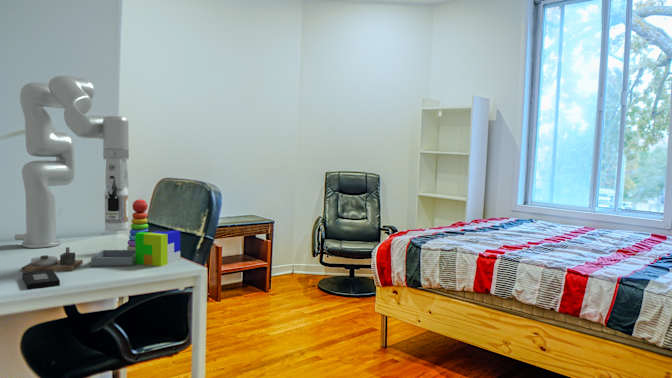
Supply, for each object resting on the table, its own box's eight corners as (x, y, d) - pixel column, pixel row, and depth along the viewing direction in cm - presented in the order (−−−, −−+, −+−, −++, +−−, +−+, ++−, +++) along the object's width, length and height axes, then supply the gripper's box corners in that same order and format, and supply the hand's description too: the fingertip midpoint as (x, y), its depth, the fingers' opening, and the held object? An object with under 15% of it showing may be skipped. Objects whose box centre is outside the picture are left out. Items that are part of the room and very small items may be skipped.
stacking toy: (142, 253, 180) (142, 201, 179) (122, 251, 182) (122, 200, 180) (154, 249, 188) (154, 199, 186) (135, 247, 189) (135, 198, 188)
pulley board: (21, 271, 150) (21, 251, 150) (35, 264, 160) (35, 244, 159) (72, 271, 152) (71, 250, 152) (82, 263, 162) (82, 244, 162)
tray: (91, 266, 158) (91, 257, 158) (102, 258, 170) (102, 250, 170) (132, 266, 161) (132, 257, 160) (140, 257, 173) (140, 249, 172)
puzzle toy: (180, 260, 171) (180, 231, 170) (160, 266, 161) (160, 235, 161) (155, 257, 174) (155, 228, 173) (135, 263, 165) (135, 233, 164)
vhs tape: (52, 276, 148) (52, 269, 148) (60, 287, 137) (59, 280, 137) (22, 279, 144) (22, 272, 144) (27, 291, 132) (27, 283, 132)
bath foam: (127, 231, 163) (127, 169, 161) (104, 231, 160) (103, 168, 159) (128, 227, 169) (128, 168, 168) (106, 228, 167) (105, 167, 165)
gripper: (121, 155, 155) (122, 212, 156) (134, 154, 172) (134, 206, 173) (95, 154, 154) (96, 212, 155) (111, 154, 171) (111, 206, 172)
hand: (116, 209), depth 164 cm, fingers closed on bath foam, 7 cm apart
